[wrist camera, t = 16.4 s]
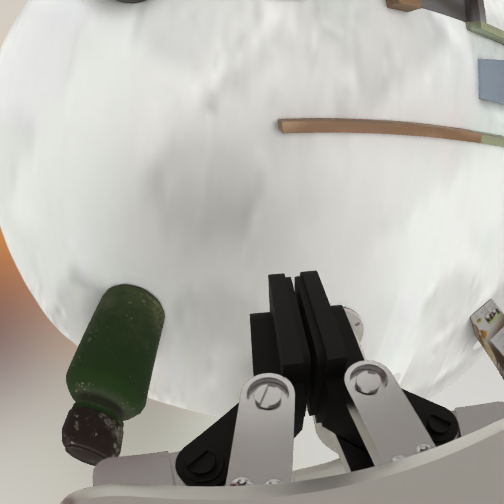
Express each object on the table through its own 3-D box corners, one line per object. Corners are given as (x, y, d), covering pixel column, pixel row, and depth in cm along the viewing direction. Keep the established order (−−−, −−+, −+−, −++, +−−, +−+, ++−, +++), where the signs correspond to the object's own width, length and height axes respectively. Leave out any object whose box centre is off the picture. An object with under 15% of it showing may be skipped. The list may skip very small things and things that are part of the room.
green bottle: (130, 341, 49) (95, 475, 27) (89, 298, 44) (27, 434, 22) (178, 321, 47) (153, 474, 25) (136, 272, 42) (76, 430, 20)
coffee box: (468, 316, 51) (507, 372, 37) (491, 297, 49) (532, 350, 35) (475, 336, 55) (508, 388, 41) (495, 319, 53) (531, 368, 39)
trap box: (516, 146, 34) (529, 151, 31) (278, 129, 33) (282, 133, 31) (513, 9, 22) (526, 9, 19) (265, -56, 21) (267, -67, 19)
